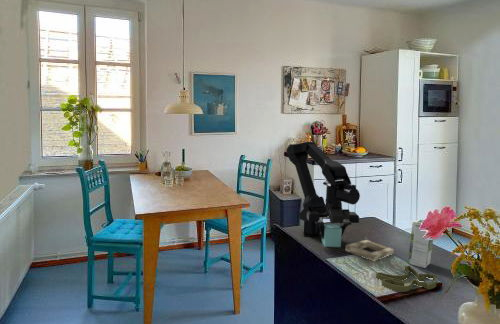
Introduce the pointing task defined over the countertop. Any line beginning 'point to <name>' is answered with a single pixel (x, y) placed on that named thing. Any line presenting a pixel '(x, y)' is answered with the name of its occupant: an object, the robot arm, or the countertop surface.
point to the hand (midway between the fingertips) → (331, 238)
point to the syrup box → (419, 247)
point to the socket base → (380, 249)
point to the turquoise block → (332, 235)
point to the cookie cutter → (398, 285)
